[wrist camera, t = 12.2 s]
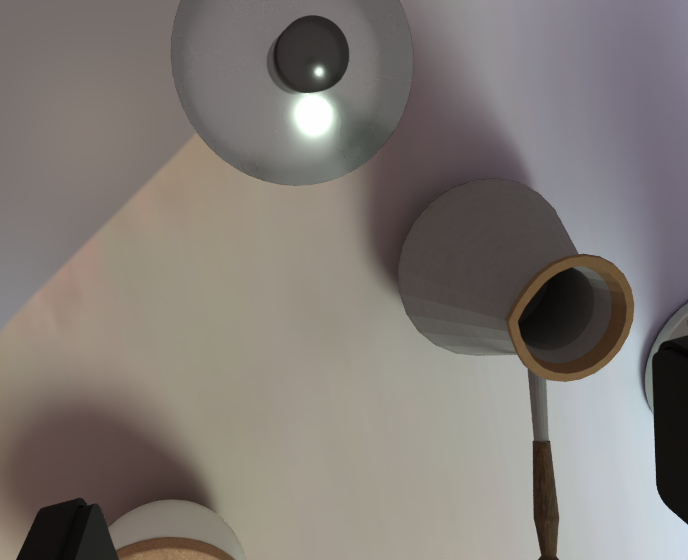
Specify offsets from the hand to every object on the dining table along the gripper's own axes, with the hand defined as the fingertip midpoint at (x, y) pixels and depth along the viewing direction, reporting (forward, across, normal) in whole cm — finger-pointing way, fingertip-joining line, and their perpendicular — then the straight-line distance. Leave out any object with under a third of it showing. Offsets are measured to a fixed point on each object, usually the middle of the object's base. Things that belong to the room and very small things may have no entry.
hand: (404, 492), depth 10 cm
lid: (+24, -3, -8) cm, 26 cm away
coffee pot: (+30, -11, +11) cm, 33 cm away
